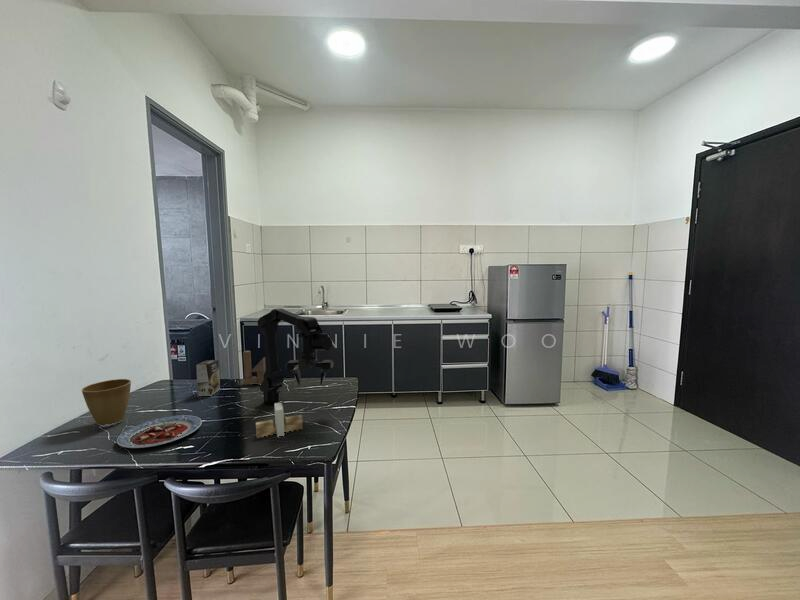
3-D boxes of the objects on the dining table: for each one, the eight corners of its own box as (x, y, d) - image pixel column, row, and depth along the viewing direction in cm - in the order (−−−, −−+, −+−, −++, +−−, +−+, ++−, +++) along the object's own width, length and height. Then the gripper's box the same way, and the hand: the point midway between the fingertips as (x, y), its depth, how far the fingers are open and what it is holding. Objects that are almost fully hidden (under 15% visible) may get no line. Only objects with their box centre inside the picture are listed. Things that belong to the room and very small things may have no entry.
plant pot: (99, 418, 144) (95, 380, 143) (140, 414, 148) (137, 377, 146) (75, 434, 130) (71, 392, 128) (122, 429, 133) (119, 388, 132)
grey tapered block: (275, 429, 131) (274, 403, 130) (282, 427, 132) (281, 402, 132) (277, 437, 124) (276, 410, 124) (284, 436, 125) (283, 409, 125)
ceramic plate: (184, 449, 118) (183, 440, 118) (98, 457, 114) (98, 448, 113) (212, 418, 143) (211, 410, 143) (143, 423, 139) (142, 416, 139)
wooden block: (264, 384, 184) (262, 351, 183) (243, 385, 183) (241, 352, 182) (266, 382, 188) (264, 349, 187) (246, 383, 187) (244, 350, 186)
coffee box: (210, 397, 167) (208, 364, 166) (197, 397, 167) (195, 364, 166) (220, 390, 176) (219, 359, 175) (208, 390, 176) (206, 359, 175)
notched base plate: (256, 438, 124) (255, 424, 124) (256, 435, 126) (255, 422, 126) (302, 429, 131) (302, 416, 130) (301, 427, 133) (301, 414, 132)
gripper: (279, 352, 136) (281, 391, 137) (326, 352, 135) (327, 391, 137) (289, 346, 147) (291, 382, 149) (333, 346, 147) (334, 382, 148)
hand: (310, 384), depth 145 cm, fingers open, 9 cm apart
